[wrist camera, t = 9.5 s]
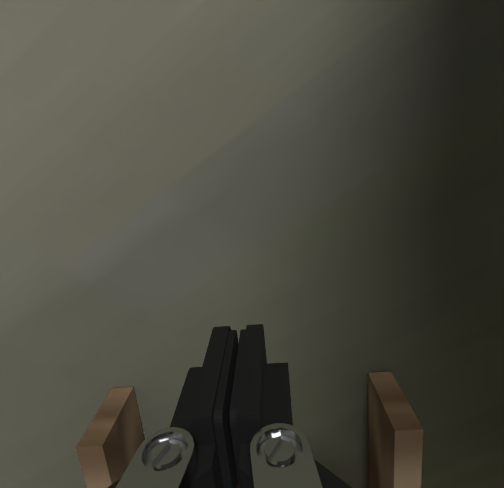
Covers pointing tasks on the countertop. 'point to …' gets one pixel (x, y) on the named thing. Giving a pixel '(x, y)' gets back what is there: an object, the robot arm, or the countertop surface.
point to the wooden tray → (379, 430)
